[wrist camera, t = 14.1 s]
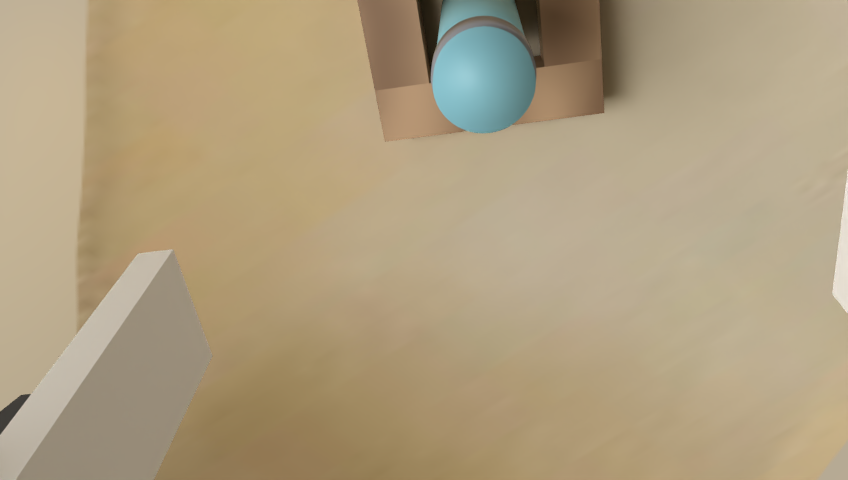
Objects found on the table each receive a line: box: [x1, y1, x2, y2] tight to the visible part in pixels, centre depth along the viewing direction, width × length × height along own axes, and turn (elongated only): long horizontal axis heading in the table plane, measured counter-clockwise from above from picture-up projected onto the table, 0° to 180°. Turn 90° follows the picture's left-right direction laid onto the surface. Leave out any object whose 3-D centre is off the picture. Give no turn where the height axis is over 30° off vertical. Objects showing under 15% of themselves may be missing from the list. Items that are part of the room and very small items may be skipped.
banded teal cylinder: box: [431, 0, 537, 133], centre depth 31 cm, size 4×4×12 cm
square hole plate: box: [358, 0, 604, 142], centre depth 36 cm, size 11×11×2 cm
